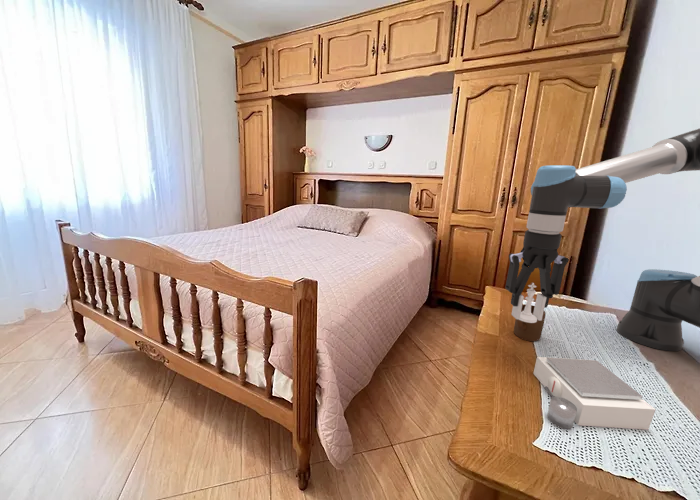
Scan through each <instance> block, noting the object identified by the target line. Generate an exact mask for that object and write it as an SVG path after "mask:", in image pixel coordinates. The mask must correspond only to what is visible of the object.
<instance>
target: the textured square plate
mask: <svg viewBox="0 0 700 500" xmlns="http://www.w3.org/2000/svg"><path fill="white" fill-rule="evenodd" d="M546 361H547V362H548V363H549V364H550V365H551V366H552V367H553V368H554V369H555V370H556V371H557V372H558V373H559V374H560V375H561V376H562V377H563V378H564V379H565V380H566V381H567V382H568V383H569V384H570V385H571V386H572V387H573V388H574V389H575V390H576V391H577V392H578V393H579V394H580V395H581V396H588V397H604V398H621V399H637V400H642V399H643V397H644V396H643V395H642V394H640V393H639V392H638V391H637V390H635V389H634V388H633V387H631V386H630V385H629V384H628V383H626V382H625V381H624V380H623V379H622V378H620V377H619V376H618V375H617V374H615V373H613V372H612V371H611V370H609V368H607V367H606V366H605V365H603V364H602V363H600V361H599V360H597V359H595V360H594V359H584V360H581V359H579V358H566V359H563V357H562V358H561V357H548V358H547V359H546Z"/></svg>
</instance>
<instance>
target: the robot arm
mask: <svg viewBox="0 0 700 500" xmlns="http://www.w3.org/2000/svg"><path fill="white" fill-rule="evenodd" d="M536 171H537V172H536V174H535V178H534V181H533V182H532V184H531V186H530V195H531V198H530V199H531V200H530V203H529V210H528V216H527V222H526V226H525V227H526V228H527V229H526V231H525V232H524V237H523V246H522V249H521V250H520V252H519V253H518V252H517V253H513V252H511V253H509V254H508V259H509V266H508V270H507V276H506V281H505V287H504V288H505V289H506V290H507V291H508V292H509V293H511V298H510V304H511V306H512V308H511V316H512V317H513V318H514V319H515V320H516V319H520V314H521V309H522V305H523V304H524V299H525V296H524V295H523V294H522V293H523V291H524V290H525V287H526V285H527V283H528V281H529V279H530V276H531V274H532V273H533V272H534V271H535V269H538V270H539V281H540V282H539V283H540V284H539V285H540V292H536V299H535V304H534V306H535V307H534V312H533V315H534V316H536V317H537V320H539V321H542V317H543V312H544V311H545V309H546V308H547V307H548V305H549V301H550V299H552V298H554V296H558V295H560V290H561V286H562V283H563V282H562V281H563V276H564V273H565V272H564V271H565V267H567V264H568V263H569V261H570V259H569V257H567V256H564V255H561V254H560V255H559V252H558V249H559V248H560V245H561V240H562V237H563V236H562V234H561V233H562V232H563V231H564V227H565V222H566V218H567V214H568V210H569V208H581V209H582V208H584V209H589V208H590V209H598V210H600V209H611V208H615V207H618V206H619V204H621V203H622V201H624V199H625V197H626V194H627V190H628V189H627V183H630V182H634V181H637V180H641V179H645V178H647V177H651V176H655V175H657V174H660V175H672V174H676V173H680V172H689V171H690V172H691V171H700V128H696V129H693V130H690V131H687V132H684V133H681V134H678V135H675V136H672V137H668V138H666V139H662V140H659V141H658V142H656V143H654V144H653V145H652V147H648V148H644V149H641V150H637V151H635V152H630V153H628V154H623V155H620V156H616V157H613V158H611V159H606V160H604V161H599V162H597V163H593V164H590V165H586V166H583V167H580V168H579V167H578V168H576V166H575V165H563V164H561V165H559V164H558V165H556V164H555V165H550V164H549V165H542V166H540V167H539V168H538V169H537V170H536ZM522 260H523V262H522ZM521 262H522V264H521V269H520V263H521ZM552 263H553V265H552ZM519 269H520V271H519ZM632 297H633V298H632V301H631V305H630V307H629V309H628V311H627V312H626V314H625V315H624V316H623V317H622V319H621V320H620V321H619V322H618V323H617V326H616V331H617V332H618V334H620V335H621V336H623V337H624V338H627V339H628V340H630V341H633V342H634V343H636V344H639V345H643V346H646V347H647V348H648V347H649V348H653V349H657V350H661V351H665V352H666V351H667V352H678V351H681V350H682V349H683V346H684V344H685V340H684V339H683V327H682V322H684V323H688V324H690V325H692V326H695V327H697V328H699V329H700V275H696V274H694V273H689V272H684V271H677V270H669V269H656V268H655V269H650V268H649V269H645V270H642V272H641V274H640V275H639V278H638V280H637V283H636V286H635V290H634V294H633V296H632Z"/></svg>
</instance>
